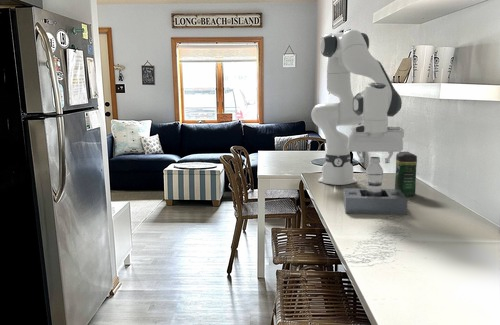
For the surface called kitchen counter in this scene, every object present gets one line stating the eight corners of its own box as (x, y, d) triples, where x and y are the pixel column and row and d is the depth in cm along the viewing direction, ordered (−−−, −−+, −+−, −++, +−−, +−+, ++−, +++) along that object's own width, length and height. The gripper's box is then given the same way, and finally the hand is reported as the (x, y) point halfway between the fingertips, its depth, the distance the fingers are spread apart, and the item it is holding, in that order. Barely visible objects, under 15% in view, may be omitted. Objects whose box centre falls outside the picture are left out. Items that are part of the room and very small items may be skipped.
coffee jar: (417, 196, 179) (419, 153, 176) (398, 197, 180) (400, 154, 177) (410, 191, 189) (412, 150, 186) (392, 191, 190) (394, 150, 186)
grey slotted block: (343, 202, 174) (343, 187, 173) (399, 203, 170) (399, 188, 169) (345, 213, 159) (345, 197, 158) (406, 214, 156) (407, 198, 155)
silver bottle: (376, 211, 160) (377, 159, 157) (361, 208, 166) (362, 157, 162) (386, 208, 164) (387, 157, 161) (371, 204, 170) (372, 155, 166)
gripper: (402, 125, 161) (401, 161, 163) (347, 126, 164) (346, 161, 167) (406, 127, 154) (404, 164, 157) (348, 128, 158) (347, 164, 160)
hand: (374, 163), depth 162 cm, fingers open, 8 cm apart
